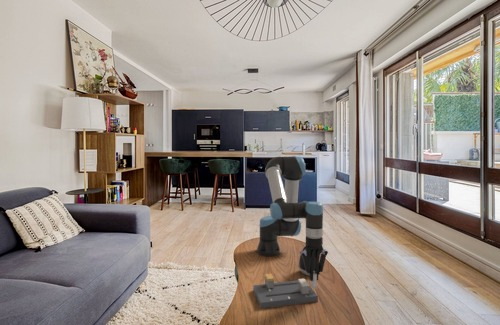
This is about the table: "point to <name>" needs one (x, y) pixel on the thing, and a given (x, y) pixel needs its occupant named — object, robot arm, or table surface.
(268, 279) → the amber fader
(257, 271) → the table surface
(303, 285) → the block
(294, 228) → the robot arm
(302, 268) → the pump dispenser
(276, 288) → the console
